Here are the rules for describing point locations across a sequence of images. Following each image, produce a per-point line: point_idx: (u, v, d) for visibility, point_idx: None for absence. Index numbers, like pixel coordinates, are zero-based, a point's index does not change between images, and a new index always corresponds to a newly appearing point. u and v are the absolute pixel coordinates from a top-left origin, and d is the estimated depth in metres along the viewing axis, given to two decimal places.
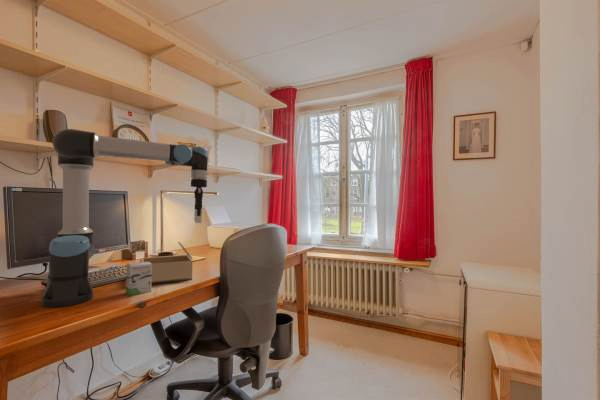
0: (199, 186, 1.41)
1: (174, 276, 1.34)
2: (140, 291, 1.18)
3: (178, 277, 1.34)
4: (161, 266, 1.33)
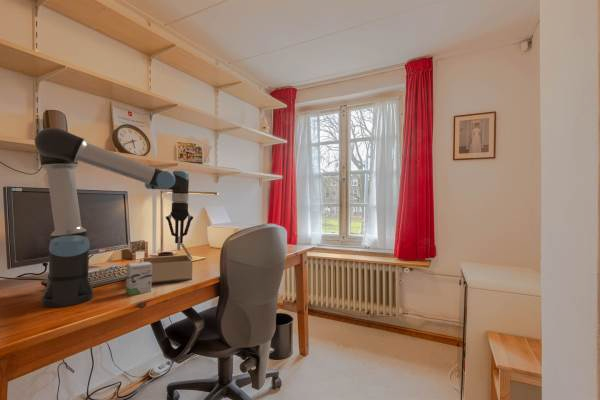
0: None
1: (174, 276, 1.34)
2: (140, 291, 1.18)
3: (178, 277, 1.34)
4: (161, 266, 1.33)
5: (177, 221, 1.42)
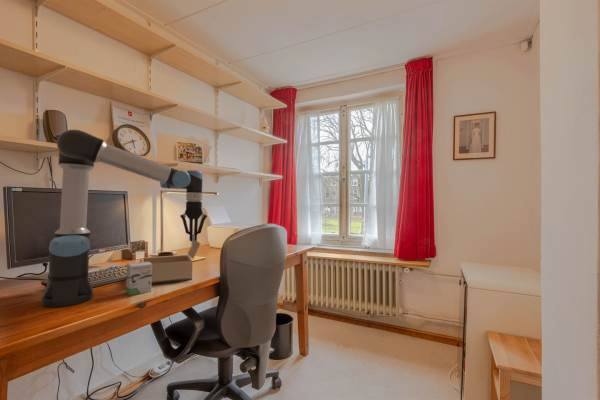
0: None
1: (174, 276, 1.34)
2: (140, 291, 1.18)
3: (178, 277, 1.34)
4: (161, 266, 1.33)
5: (191, 219, 1.45)
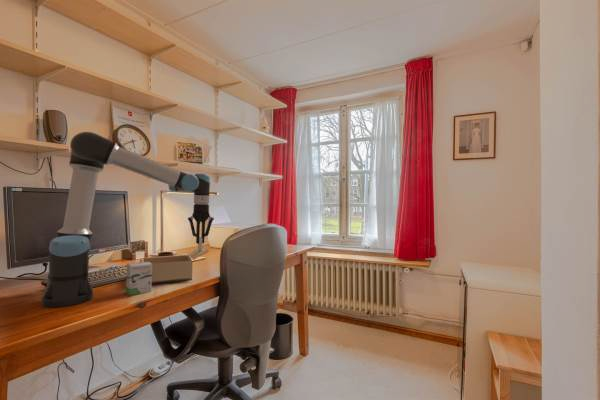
0: None
1: (174, 276, 1.34)
2: (140, 291, 1.18)
3: (178, 277, 1.34)
4: (161, 266, 1.33)
5: (199, 222, 1.47)
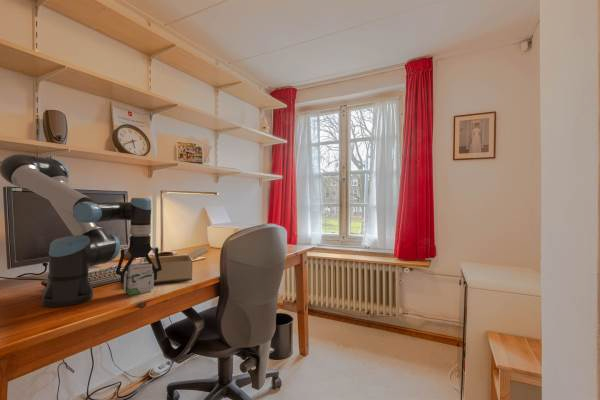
0: None
1: (174, 276, 1.34)
2: (140, 291, 1.18)
3: (178, 277, 1.34)
4: (161, 266, 1.33)
5: (132, 258, 1.17)
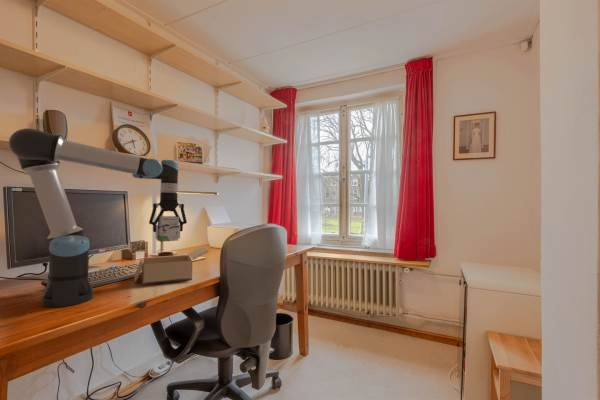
0: None
1: (174, 276, 1.34)
2: (169, 239, 1.39)
3: (178, 277, 1.34)
4: (161, 266, 1.33)
5: (163, 211, 1.38)
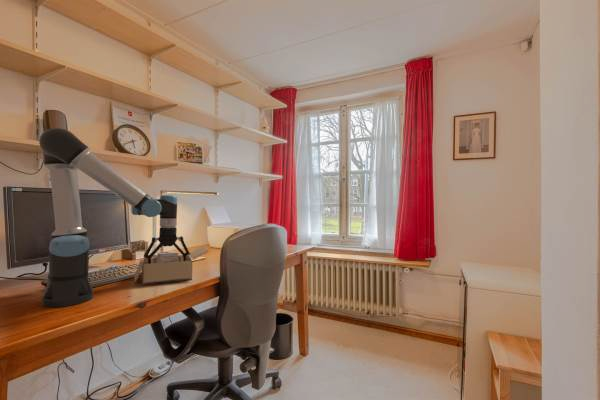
0: (159, 235, 1.39)
1: (174, 276, 1.34)
2: None
3: (178, 277, 1.34)
4: (161, 266, 1.33)
5: (160, 245, 1.38)
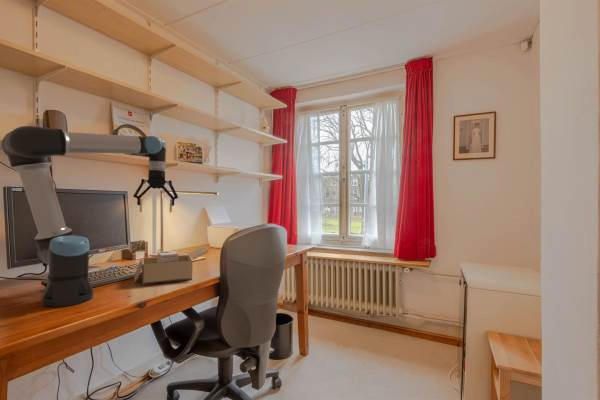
0: None
1: (174, 276, 1.34)
2: None
3: (178, 277, 1.34)
4: (161, 266, 1.33)
5: (149, 187, 1.44)
